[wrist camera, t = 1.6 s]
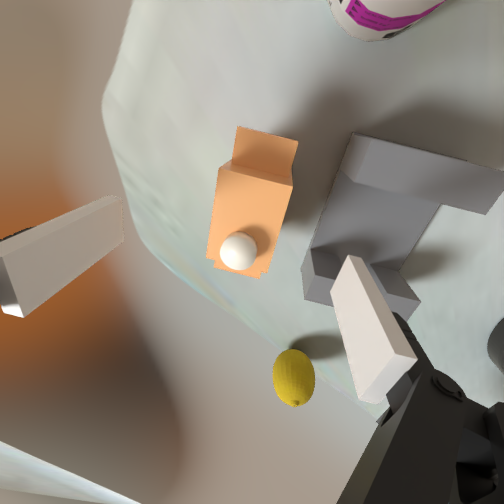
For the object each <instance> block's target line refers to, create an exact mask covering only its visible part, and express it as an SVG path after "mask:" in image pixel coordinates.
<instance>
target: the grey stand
mask: <svg viewBox="0 0 504 504" xmlns="http://www.w3.org/2000/svg"><path fill="white" fill-rule="evenodd" d="M503 191H504V171H500V170H496V169H492V168H488V167H484V166H480V165H476V164H472V163H468V162H467V160H463V159H459V158H455V157H451V156H447V155H443V154H439V153H435V152H431V151H427V150H423V149H419V148H415V147H411V146H407V145H403V144H399V143H395V142H391V141H387V140H383V139H379V138H375V137H372V136H368V135H364V134H360V133H356V132H353V133H352V135H351V138H350V141H349V143H348V146H347V148H346V151H345V154H344V156H343V159H342V161H341V164H340V167H339V169H338V172H337V175H336V177H335V180H334V182H333V185H332V188H331V190H330V193H329V196H328V198H327V201H326V203H325V206H324V209H323V211H322V214H321V217H320V219H319V222H318V224H317V227H316V230H315V232H314V235H313V238H312V240H311V243H310V245H309V248H308V251H307V253H306V256H305V258H304V261H303V264H302V266H301V272H302V280H303V290H304V300H308V301H312V302H316V303H320V304H324V305H328V306H332V307H334V305H333V301H332V297H331V294H330V291H331V289H332V287H333V285H334V283H335V280H336V278H337V276H338V274H339V272H340V270H341V268H342V266H343V264H344V262H345V260H346V258H347V256H348V255H352V256H356V257H360V258H362V260H363V262H364V264H365V265H366V267H367V269H368V271H369V273H370V274H371V276H372V278H373V280H374V282H375V283H376V285H377V287H378V289H379V291H380V292H381V294H382V296H383V298H384V300H385V301H386V303H387V305H388V307H389V309H390V310H391V311H392V312H396V313H398V314H399V315H400V316H401V317H402V318H403V319H404V320H405V321H406V322H407V320H408V319H409V318H410V316H411V315H412V314H413V312H414V311H415V310H416V308H417V307H418V306H419V304H420V303H421V301H420V300H419V298H418V297H417V296H416V294H415V293H414V292H413V290H412V289H411V288H410V286H409V285H408V284H407V282H406V281H405V280H404V278H403V277H402V276H401V274H400V273H399V272H398V271H399V269H400V268H401V266H402V264H403V263H404V261H405V260H406V258H407V256H408V255H409V253H410V252H411V250H412V248H413V247H414V245H415V244H416V242H417V240H418V239H419V237H420V236H421V234H422V232H423V231H424V229H425V228H426V226H427V224H428V223H429V221H430V220H431V218H432V216H433V215H434V213H435V212H436V210H437V209H438V207H439V205H440V204H444V205H448V206H452V207H456V208H460V209H464V210H467V211H471V212H475V213H479V214H483V215H486V214H487V212H488V211H489V210H490V208H491V207H492V206H493V204H494V203H495V202H496V200H497V199H498V197H499V196H500V195H501V193H502V192H503Z"/></svg>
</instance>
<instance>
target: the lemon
mask: <svg viewBox="0 0 504 504" xmlns="http://www.w3.org/2000/svg"><path fill="white" fill-rule="evenodd" d="M273 384H274V388H275V391H276V393H277V395H278V397H279V398H280V399H281V400H282V401H283V402H285V403H286V404H288V405H290V406H292V407H297V406H301V405H303V404H305V403H306V402H307V401H308V400H309V399H310V398H311V396H312V394H313V391H314V387H315V373H314V368H313V365H312V363H311V361H310V359H309V358H308V357H307V356H306V355H305V354H304V353H303V352H301V351H299V350H295V349H289V350H286V351H284V352H282V353H281V354H280V355H279V356H278V357H277V359H276V361H275V363H274V366H273Z"/></svg>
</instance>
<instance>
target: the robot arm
mask: <svg viewBox="0 0 504 504" xmlns="http://www.w3.org/2000/svg"><path fill="white" fill-rule="evenodd" d="M123 241H124V228H123V212H122V199H121V198H118V197H115V196H111V195H107V196H105V197H103V198H101V199H98V200H96V201H94V202H91V203H89V204H87V205H84V206H82V207H80V208H77V209H75V210H73V211H71V212H68V213H66V214H64V215H62V216H59V217H57V218H55V219H52V220H50V221H48V222H45V223H43V224H41V225H38V226H35V227H30V228H26V229H24V230H21V231H19V232H17V233H14V234H13V235H9V236H7V237H5V238H3V240H2V239H0V304H1V307H2V309H3V311H4V313H7V314H11V315H15V316H19V317H25V316H26V315H28V314H29V313H30V312H32V311H33V310H34V309H36V308H37V307H38V306H40V305H41V304H42V303H43V302H45V301H46V300H47V299H49V298H50V297H51V296H53V295H54V294H55V293H57V292H58V291H59V290H60V289H62V288H63V287H64V286H66V285H67V284H68V283H70V282H71V281H72V280H73V279H75V278H76V277H77V276H79V275H80V274H81V273H83V272H84V271H85V270H87V269H88V268H89V267H91V266H92V265H93V264H95V263H96V262H97V261H98V260H100V259H101V258H102V257H104V256H105V255H106V254H107V253H109V252H110V251H111V250H112V249H114V248H115V247H117V246H118V245H119V244H120V243H122V242H123ZM330 294H331V297H332V301H333V305H334V309H335V312H336V316H337V320H338V324H339V327H340V331H341V335H342V339H343V342H344V346H345V350H346V354H347V357H348V361H349V365H350V369H351V372H352V376H353V380H354V384H355V387H356V391H357V395H358V399H359V400H361V401H365V402H369V403H373V404H379V403H380V402H381V401H382V400H383V399H384V398H385V396H387V399H388V402H389V404H390V407H389V408H388V409H387V410H386V411H385V412H384V413H383V415H382V416H381V417H380V418H379V419H378V420H377V421H376V422H377V423H378V424H379V425H378V427H377V428H376V430H375V432H374V434H373V436H372V438H371V440H370V441H369V443H368V445H367V447H366V449H365V451H364V453H363V455H362V456H361V458H360V460H359V462H358V464H357V466H356V468H355V470H354V471H353V473H352V475H351V477H350V479H349V481H348V483H347V485H346V487H345V488H344V490H343V492H342V494H341V496H340V498H339V500H338V501H337V503H336V504H504V403H503V402H498V403H496V404H495V405H493V406H492V407H491V408H489V409H488V408H486V407H484V406H482V405H480V404H478V403H476V402H474V401H472V400H470V399H468V398H467V397H466V395H465V393H464V392H463V390H462V389H461V387H460V386H459V385H458V384H457V383H456V382H455V381H454V380H453V379H451V378H450V377H449V376H448V375H446V374H444V373H442V372H441V371H439V370H436V369H434V367H433V365H432V364H431V362H430V360H429V359H428V357H427V355H426V354H425V352H424V350H423V349H422V347H421V345H420V344H419V342H418V341H417V339H416V337H415V336H414V334H413V333H412V331H411V329H410V327H409V326H408V324H407V322H406V321H405V320H404V319H403V318H402V317H401V316H400V315H399V314H398V313H396V312H392V311H391V310H390V309H389V307H388V305H387V303H386V301H385V300H384V298H383V296H382V294H381V292H380V291H379V289H378V287H377V285H376V283H375V282H374V280H373V278H372V276H371V274H370V273H369V271H368V269H367V267H366V265H365V264H364V262H363V260H362V258H360V257H356V256H352V255H348V256H347V258H346V260H345V262H344V264H343V266H342V268H341V270H340V272H339V274H338V276H337V278H336V280H335V283H334V285H333V287H332V289H331V291H330ZM487 349H488V354H489V357H490V359H491V360H492V361H493V363H494V364H495V365H496V366H497V367H498V368H499V370H500V371H501V372H502V373H503V374H504V318H503V319H502V320H501V321H500V322H499V324H498V325H497V326H496V327H495V329H494V330H493V332H492V333H491V335H490V337H489V340H488V346H487Z"/></svg>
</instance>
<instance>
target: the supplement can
mask: <svg viewBox="0 0 504 504" xmlns="http://www.w3.org/2000/svg"><path fill="white" fill-rule="evenodd" d="M444 1H446V0H327V2H328V4H329V6H330V9H331V11H332V14H333V16H334V18H335V21H336V22H337V23H338V24H339V25H340V26H341V27H342V28H343V29H344V30H345V31H346V32H347V33H348V34H349V35H350V36H352V37H355V38H358V39H361V40H364V41H367V42H370V41H378V40H386V39H390V38H392V37H394V36H396V35H397V34H399V33H401V32H403V31H405V30H407V29H409V28H410V27H412V26H413V25H414V24H416V23H417V22H418V21H419V20H421V19H422V18H423V17H425V16H426V15H427V14H429V13H430V12H431V11H433V10H434V9H435V8H437V7H438V6H439V5H440V4H442V3H443V2H444Z"/></svg>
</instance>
